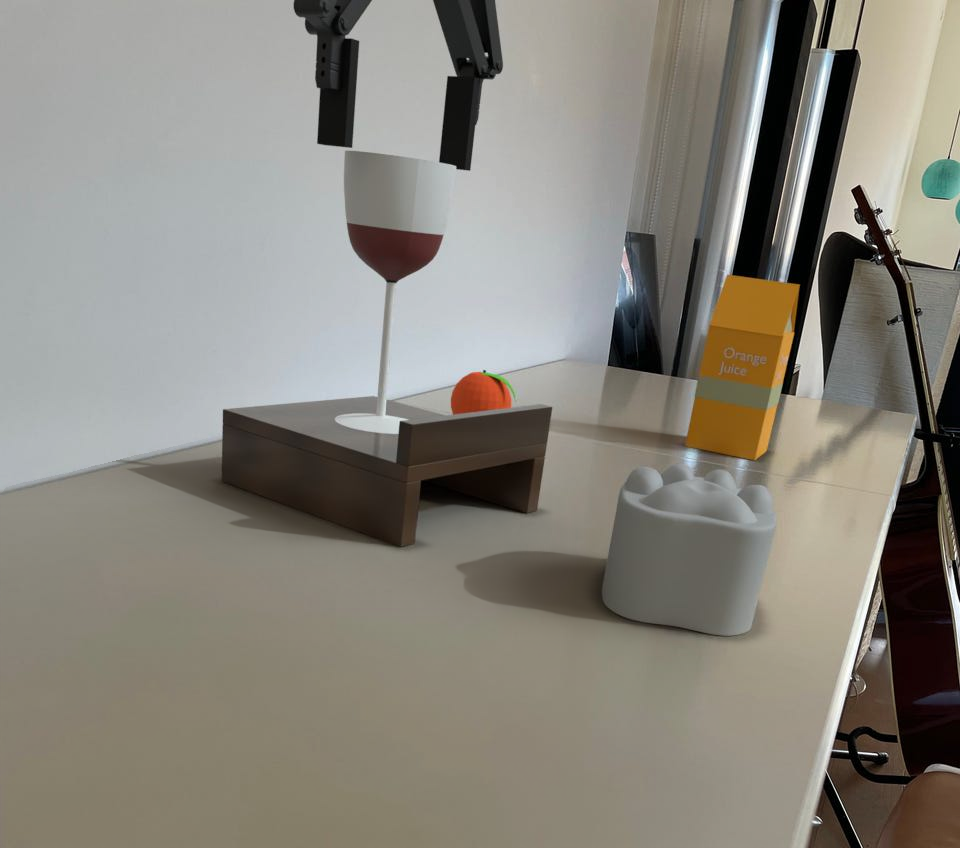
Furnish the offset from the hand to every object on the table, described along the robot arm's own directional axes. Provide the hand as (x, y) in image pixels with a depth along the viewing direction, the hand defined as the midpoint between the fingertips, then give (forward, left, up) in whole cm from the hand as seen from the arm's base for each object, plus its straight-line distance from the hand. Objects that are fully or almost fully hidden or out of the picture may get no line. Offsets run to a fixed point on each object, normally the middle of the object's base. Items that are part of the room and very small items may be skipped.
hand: (398, 158), depth 74 cm
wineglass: (0, 0, -20) cm, 20 cm away
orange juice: (+8, +56, -26) cm, 62 cm away
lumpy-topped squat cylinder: (+29, 0, -26) cm, 39 cm away
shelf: (+1, 0, -26) cm, 26 cm away
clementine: (-11, +30, -26) cm, 41 cm away
